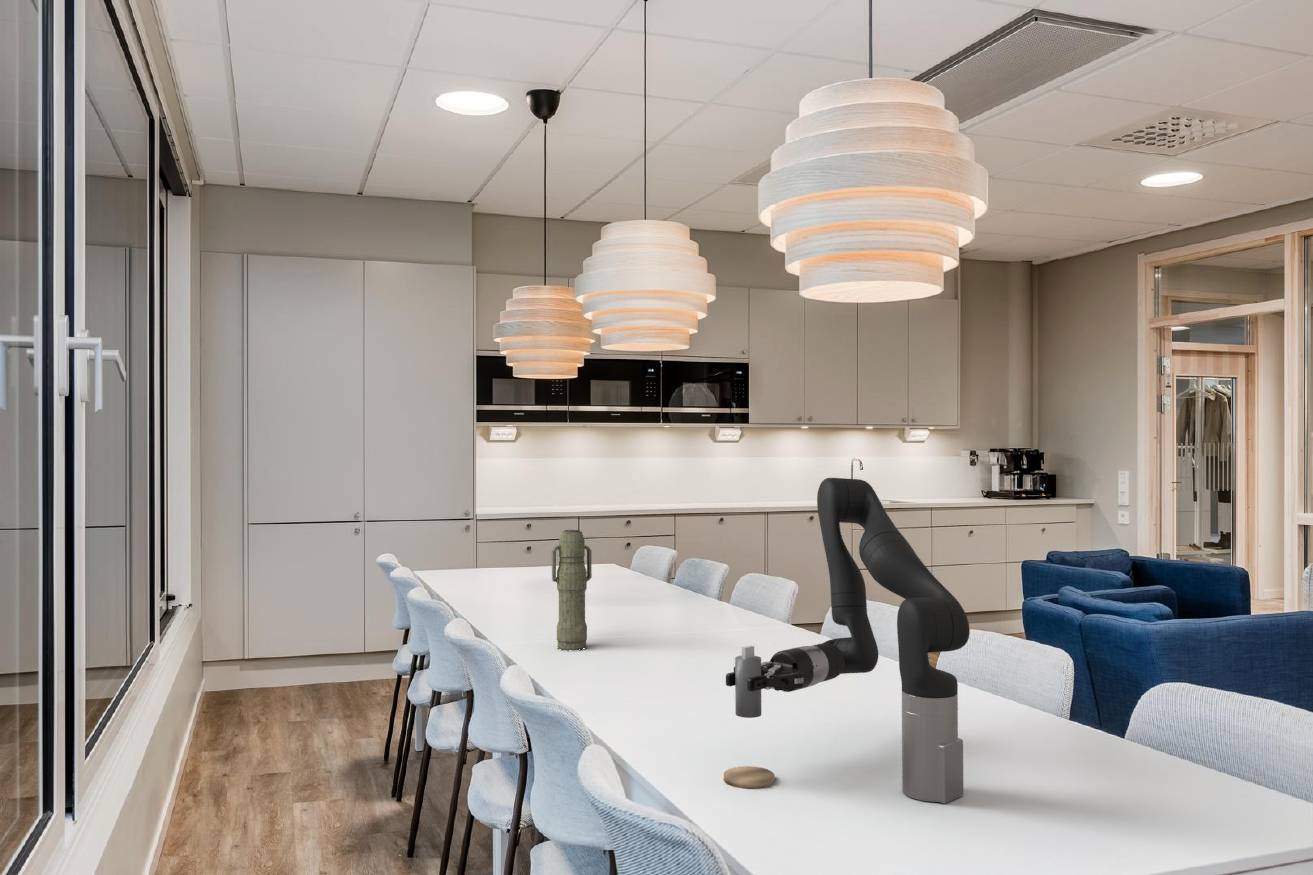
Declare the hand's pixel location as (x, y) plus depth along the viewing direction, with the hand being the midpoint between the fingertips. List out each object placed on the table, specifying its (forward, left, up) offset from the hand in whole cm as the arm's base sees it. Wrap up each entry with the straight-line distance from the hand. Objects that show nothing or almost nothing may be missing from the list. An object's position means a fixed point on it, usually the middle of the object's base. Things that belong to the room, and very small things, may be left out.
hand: (738, 682), depth 176 cm
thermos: (+116, -55, -18) cm, 129 cm away
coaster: (0, -3, -18) cm, 18 cm away
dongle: (0, -3, -6) cm, 7 cm away
